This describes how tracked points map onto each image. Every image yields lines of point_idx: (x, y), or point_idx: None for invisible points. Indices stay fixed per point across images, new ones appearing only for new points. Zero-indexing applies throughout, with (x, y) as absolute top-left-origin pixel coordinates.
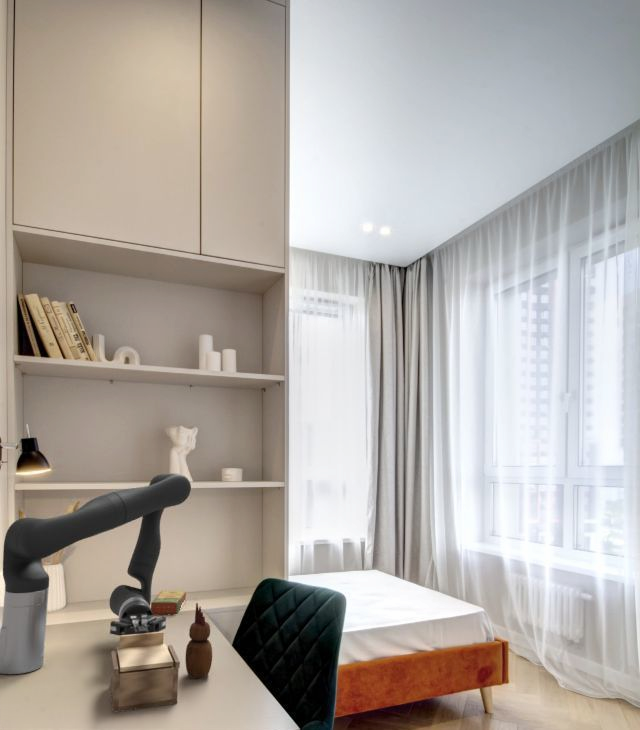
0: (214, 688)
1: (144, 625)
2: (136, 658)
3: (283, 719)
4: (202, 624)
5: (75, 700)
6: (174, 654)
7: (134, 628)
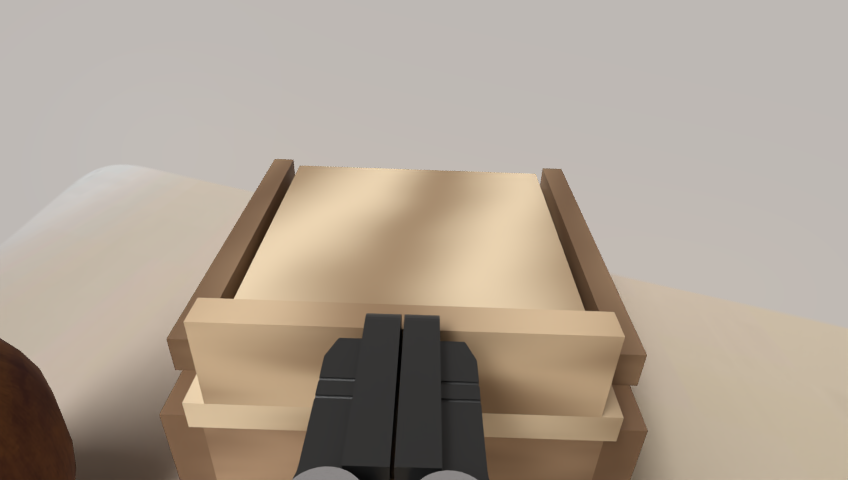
0: (74, 365)
1: (332, 471)
2: (461, 224)
3: (97, 169)
4: None
5: (742, 455)
6: (252, 213)
7: (481, 474)
